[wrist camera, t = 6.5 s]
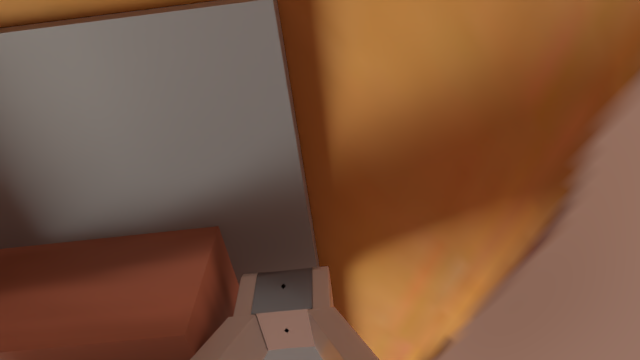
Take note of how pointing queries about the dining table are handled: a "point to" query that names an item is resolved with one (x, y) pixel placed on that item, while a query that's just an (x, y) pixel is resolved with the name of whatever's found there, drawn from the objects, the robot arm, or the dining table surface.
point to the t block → (116, 297)
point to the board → (156, 133)
